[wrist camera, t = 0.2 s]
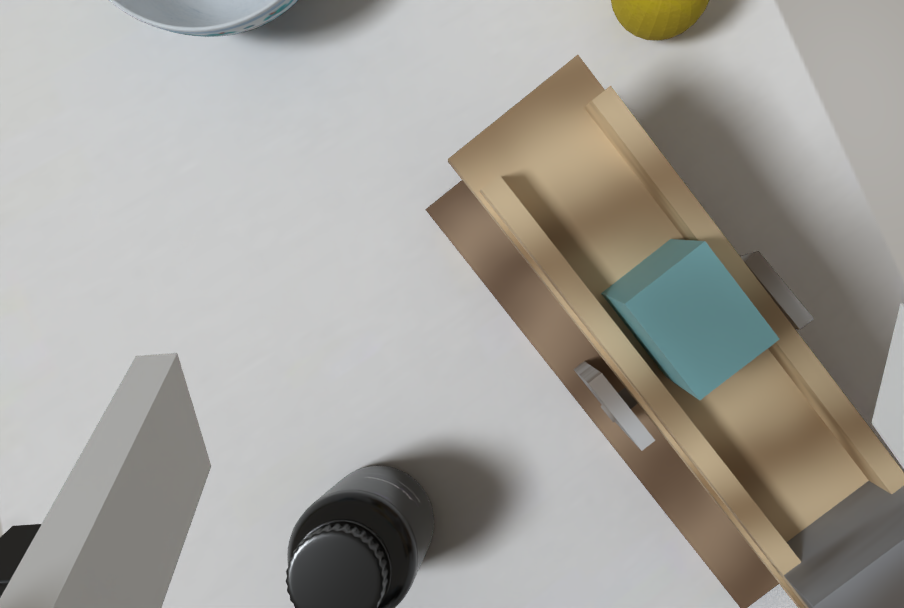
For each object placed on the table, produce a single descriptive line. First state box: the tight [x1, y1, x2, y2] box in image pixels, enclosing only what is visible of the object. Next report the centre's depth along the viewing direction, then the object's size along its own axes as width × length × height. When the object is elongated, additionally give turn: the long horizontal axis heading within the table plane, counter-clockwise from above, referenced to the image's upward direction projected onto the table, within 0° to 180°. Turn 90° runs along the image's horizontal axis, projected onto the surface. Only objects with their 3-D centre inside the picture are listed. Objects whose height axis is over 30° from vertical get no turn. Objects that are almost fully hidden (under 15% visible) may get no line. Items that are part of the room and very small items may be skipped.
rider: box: [601, 239, 779, 400], centre depth 35 cm, size 5×4×5 cm
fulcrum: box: [425, 180, 814, 608], centre depth 44 cm, size 30×12×11 cm, turn 38°
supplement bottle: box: [286, 466, 434, 608], centre depth 44 cm, size 7×7×12 cm
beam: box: [448, 55, 904, 608], centre depth 36 cm, size 29×7×7 cm, turn 38°
